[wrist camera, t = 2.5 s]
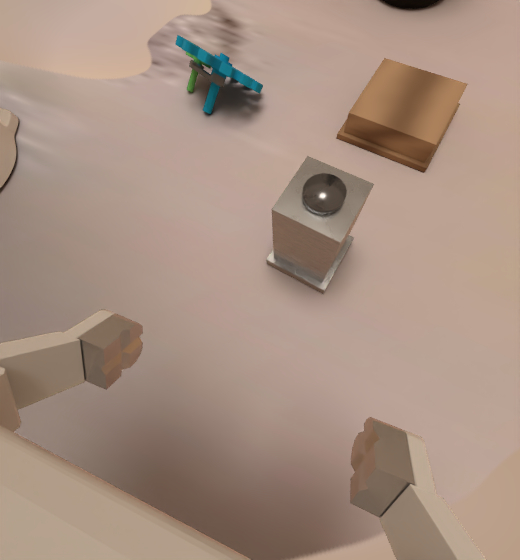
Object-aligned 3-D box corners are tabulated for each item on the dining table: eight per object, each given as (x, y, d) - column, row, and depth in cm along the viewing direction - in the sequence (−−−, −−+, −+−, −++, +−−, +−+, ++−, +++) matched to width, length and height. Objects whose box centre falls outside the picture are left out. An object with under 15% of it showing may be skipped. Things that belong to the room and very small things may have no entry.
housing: (266, 263, 27) (260, 206, 18) (296, 216, 29) (305, 141, 20) (322, 293, 26) (346, 248, 17) (351, 242, 27) (387, 175, 18)
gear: (282, 89, 32) (215, 47, 25) (259, 140, 35) (193, 117, 28) (227, 57, 37) (157, 14, 29) (211, 105, 40) (144, 76, 33)
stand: (336, 137, 32) (342, 114, 29) (373, 80, 34) (382, 54, 31) (424, 172, 29) (439, 150, 26) (456, 108, 32) (474, 82, 29)
